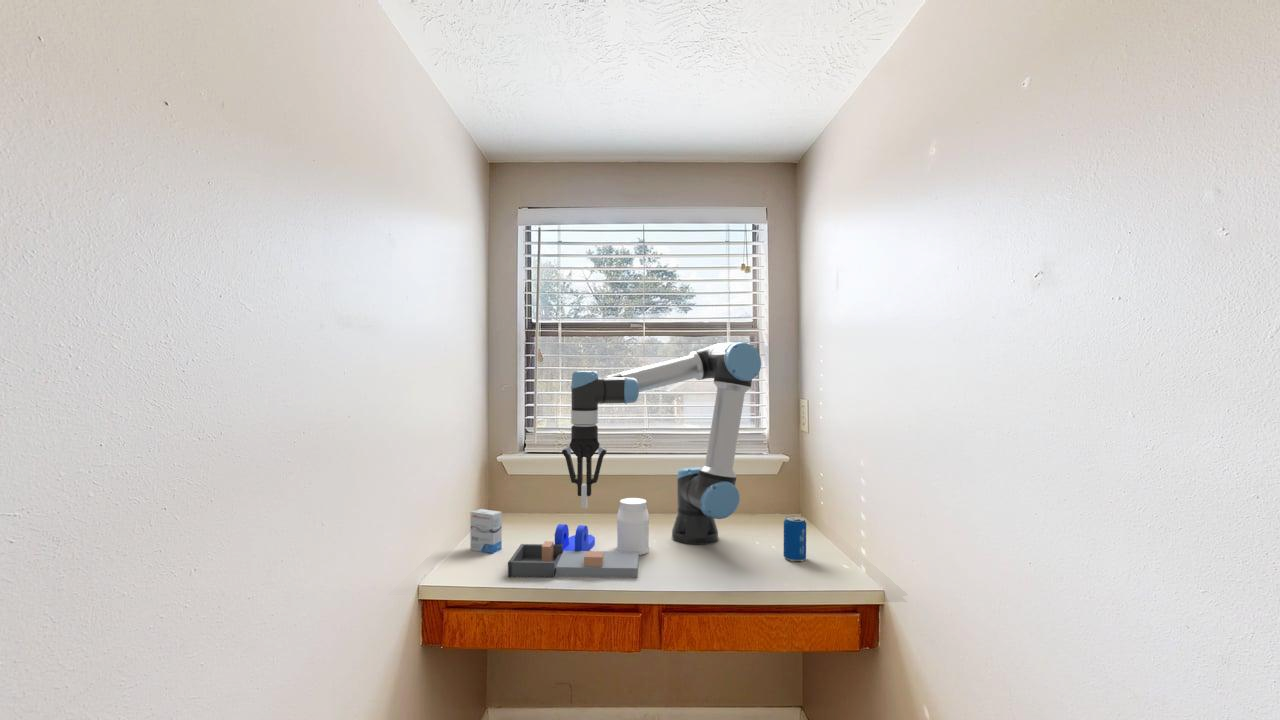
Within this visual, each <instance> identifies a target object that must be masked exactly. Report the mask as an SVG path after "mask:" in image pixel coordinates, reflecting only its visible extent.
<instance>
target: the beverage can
mask: <svg viewBox="0 0 1280 720" xmlns="http://www.w3.org/2000/svg"><path fill="white" fill-rule="evenodd" d="M805 520H806V519H805V518H804V517H802V516H799V515H787V516H785V518H784V520H783V557H784V558H785V559H786V560H787V561H789V560H790V562H793V561H801V562H803V561H804V560H806V559H807V522H806V521H805ZM802 560H803V561H802Z"/></svg>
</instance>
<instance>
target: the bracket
mask: <svg viewBox="0 0 1280 720" xmlns="http://www.w3.org/2000/svg"><path fill="white" fill-rule="evenodd" d="M569 533H570V532H569V526H568V524H566V523H565V524H564V523H558V524H557V525H556V529H555V532H554V544H556V545H563V551H589V550H590V549H591V550H592V548H593V547H594V546H595V544H596V537H595V536H594V535H591V534H589V527H588V526H587V525H577V527H576V529H575V535H571V536H570V534H569ZM591 550H590V551H591Z"/></svg>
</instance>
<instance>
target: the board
mask: <svg viewBox="0 0 1280 720" xmlns="http://www.w3.org/2000/svg"><path fill="white" fill-rule="evenodd" d="M603 551H604V562H603V566H602V567H599V566H584V556H585V553H586V551H563V553H562V555H561V557H560V559H559V561H558V564H557V566H556V575H555V577H557V578H558V577H561V578H562V577H564V578H565V577H569V578H570V577H572V578H573V577H575V578H631V577H637V578H638V573H639V558H640V557H639V556H640V555H639V552H621V551H617V550H616V551H611V550H607V551H606V550H603Z"/></svg>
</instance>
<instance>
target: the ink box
mask: <svg viewBox="0 0 1280 720" xmlns="http://www.w3.org/2000/svg"><path fill="white" fill-rule="evenodd" d="M502 512H503V511H499V510H489V509H486V508H485V509H483V508H479V509H476V510H473V511H471V512H470V542H469V543H470V545H469V546H470V547H469V548H470V549H469V550H470V551H475V552H481V553H488V554H494V553H496V552H499V551H500V550H502V546H503V545H502V542H503V541H502V540H503V539H502V538H503V537H502V532H503V531H502V530H503V529H502V528H503V527H502V525H503V523H502V522H503V521H502V520H503V519H502V518H503V517H502V516H503V515H502V514H503V513H502Z"/></svg>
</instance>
